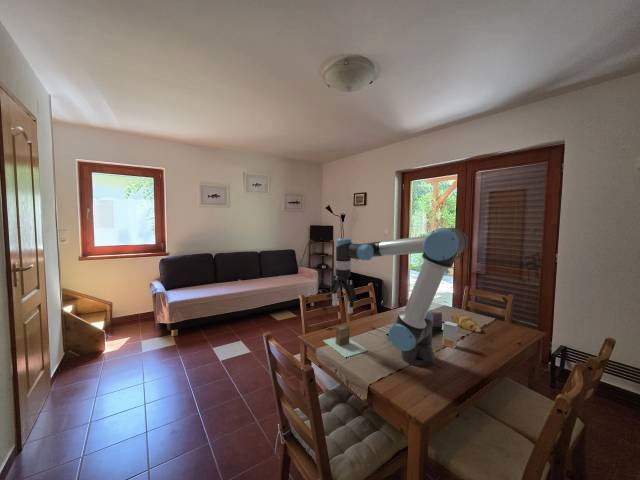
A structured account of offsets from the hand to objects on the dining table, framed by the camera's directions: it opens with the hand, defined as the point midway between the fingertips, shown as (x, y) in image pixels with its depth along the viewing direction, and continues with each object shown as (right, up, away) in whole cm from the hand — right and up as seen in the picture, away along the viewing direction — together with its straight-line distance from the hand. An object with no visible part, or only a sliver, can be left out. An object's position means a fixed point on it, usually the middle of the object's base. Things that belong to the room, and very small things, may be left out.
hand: (342, 309), depth 140 cm
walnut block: (0, -18, +1) cm, 18 cm away
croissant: (+78, -18, +26) cm, 84 cm away
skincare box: (+56, -20, +1) cm, 60 cm away
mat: (+1, -19, -1) cm, 19 cm away
